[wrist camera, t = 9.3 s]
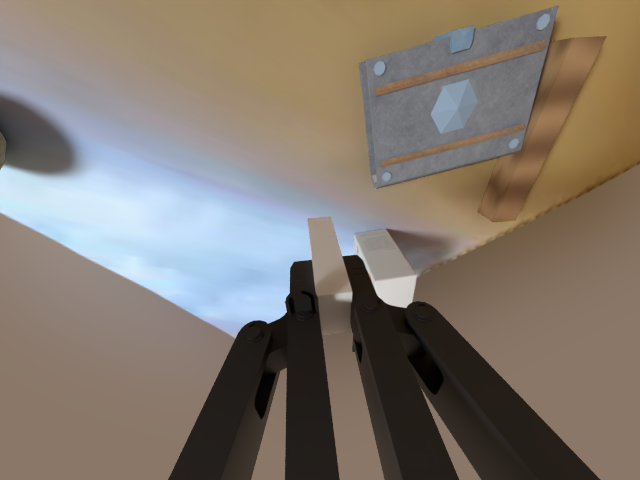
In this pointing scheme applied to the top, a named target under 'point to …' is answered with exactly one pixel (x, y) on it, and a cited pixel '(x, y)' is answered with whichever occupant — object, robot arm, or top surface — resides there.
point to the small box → (386, 267)
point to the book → (453, 98)
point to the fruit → (2, 150)
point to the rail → (540, 125)
